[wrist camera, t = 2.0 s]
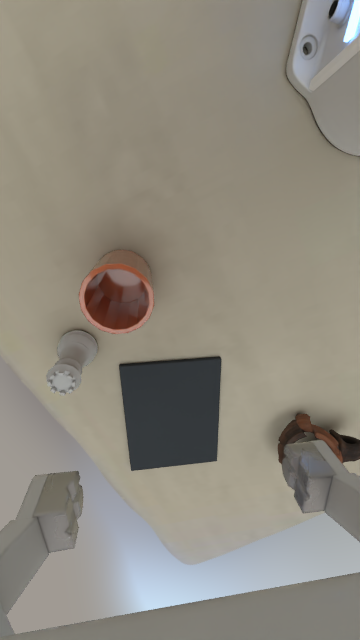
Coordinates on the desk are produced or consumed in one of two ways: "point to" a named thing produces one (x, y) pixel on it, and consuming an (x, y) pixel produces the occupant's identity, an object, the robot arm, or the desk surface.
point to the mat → (171, 411)
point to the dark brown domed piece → (339, 444)
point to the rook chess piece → (71, 361)
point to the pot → (118, 292)
